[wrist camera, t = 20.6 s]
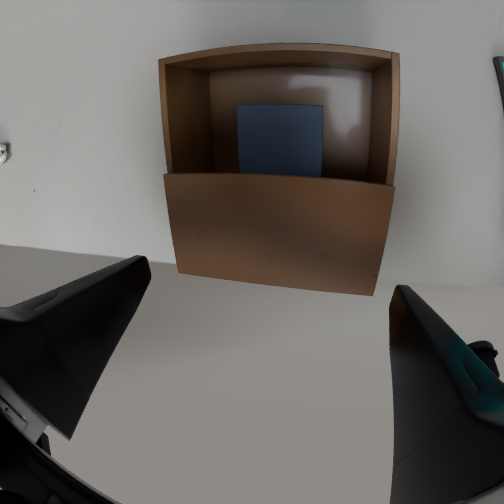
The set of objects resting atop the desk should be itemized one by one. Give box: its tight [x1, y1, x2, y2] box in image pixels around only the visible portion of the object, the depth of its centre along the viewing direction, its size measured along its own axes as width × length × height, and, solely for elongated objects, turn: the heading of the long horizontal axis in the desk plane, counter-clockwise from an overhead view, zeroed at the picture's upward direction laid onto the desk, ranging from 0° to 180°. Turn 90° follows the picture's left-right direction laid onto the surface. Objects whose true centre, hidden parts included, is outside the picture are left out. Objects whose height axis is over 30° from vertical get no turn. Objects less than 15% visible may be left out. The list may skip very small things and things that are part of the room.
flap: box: [163, 173, 395, 296], centre depth 14 cm, size 6×12×1 cm, turn 92°
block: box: [237, 104, 323, 177], centre depth 16 cm, size 4×4×4 cm
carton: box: [158, 43, 400, 185], centre depth 16 cm, size 13×12×6 cm
